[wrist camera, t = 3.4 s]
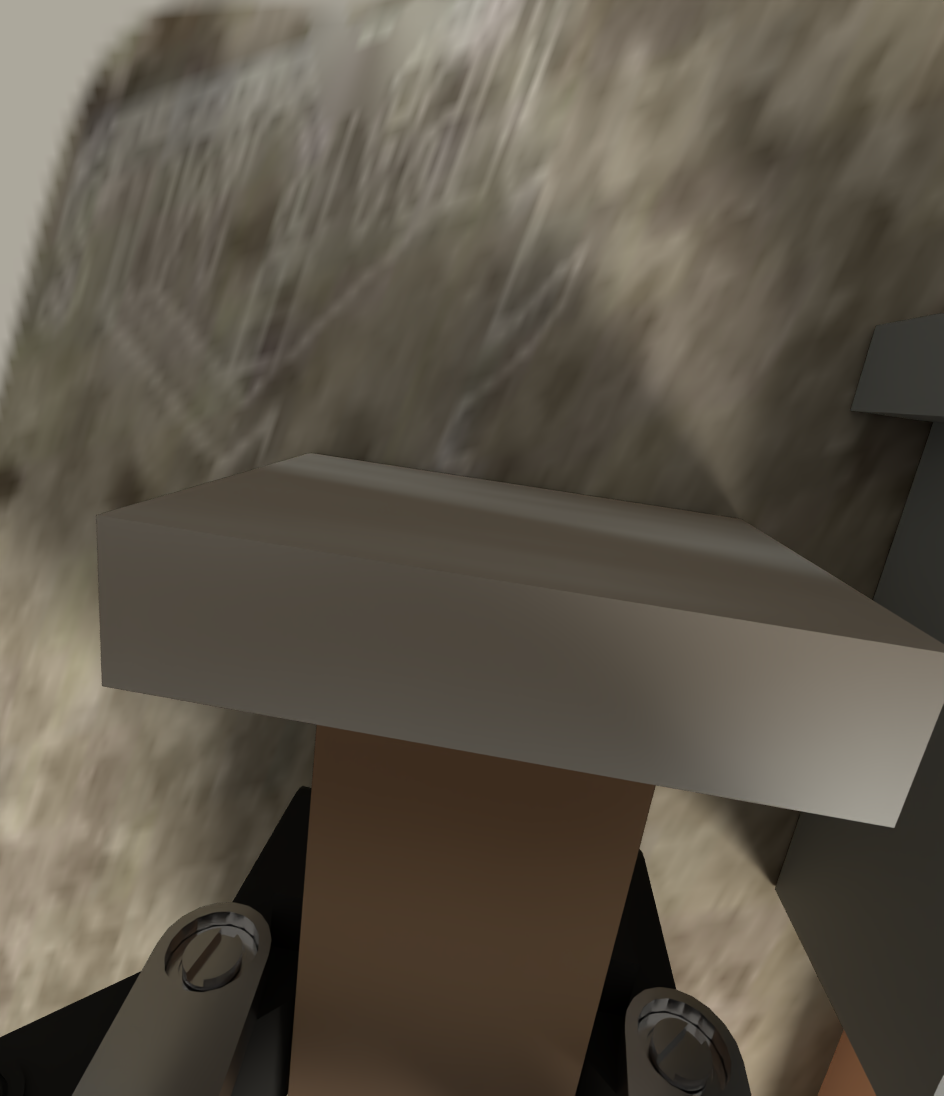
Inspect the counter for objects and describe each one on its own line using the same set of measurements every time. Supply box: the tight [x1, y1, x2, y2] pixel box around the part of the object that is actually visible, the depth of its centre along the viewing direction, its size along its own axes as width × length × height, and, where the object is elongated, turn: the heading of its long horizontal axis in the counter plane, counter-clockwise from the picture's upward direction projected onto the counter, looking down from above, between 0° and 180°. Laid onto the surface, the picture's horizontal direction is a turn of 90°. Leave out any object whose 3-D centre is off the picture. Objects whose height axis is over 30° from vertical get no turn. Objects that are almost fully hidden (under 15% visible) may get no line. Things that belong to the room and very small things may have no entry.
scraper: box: [96, 453, 944, 1096], centre depth 9 cm, size 14×7×5 cm, turn 172°
